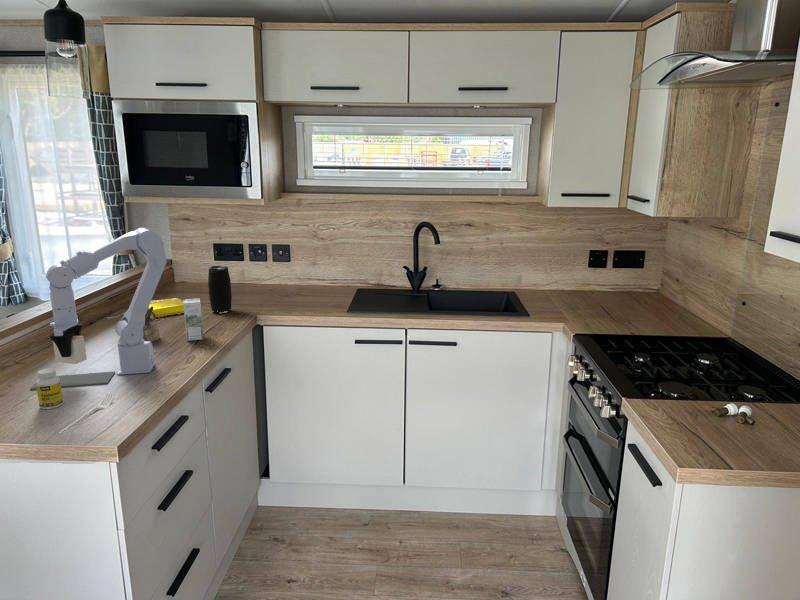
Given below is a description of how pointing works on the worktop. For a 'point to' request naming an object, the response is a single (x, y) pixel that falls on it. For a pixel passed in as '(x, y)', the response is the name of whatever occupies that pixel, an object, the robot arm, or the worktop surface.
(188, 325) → the syrup box
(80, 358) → the card box
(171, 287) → the worktop surface
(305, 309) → the worktop surface
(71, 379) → the rubber mat
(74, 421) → the fork
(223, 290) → the portable speaker
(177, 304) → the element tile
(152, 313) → the figurine
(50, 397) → the supplement bottle
